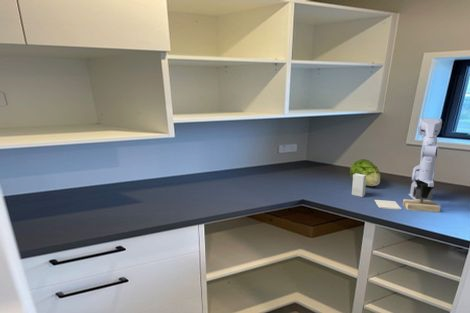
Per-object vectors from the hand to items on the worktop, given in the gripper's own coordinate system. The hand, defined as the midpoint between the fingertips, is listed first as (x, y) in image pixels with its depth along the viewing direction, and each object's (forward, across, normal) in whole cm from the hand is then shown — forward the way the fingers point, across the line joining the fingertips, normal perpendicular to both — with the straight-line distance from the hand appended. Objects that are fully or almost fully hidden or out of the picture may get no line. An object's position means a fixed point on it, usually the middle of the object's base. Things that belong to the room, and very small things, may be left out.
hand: (422, 196), depth 142 cm
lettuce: (+7, -35, -19) cm, 40 cm away
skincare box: (+7, -13, -27) cm, 31 cm away
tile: (+6, -1, -15) cm, 16 cm away
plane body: (+6, 0, 0) cm, 7 cm away
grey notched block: (+1, 0, 0) cm, 1 cm away
